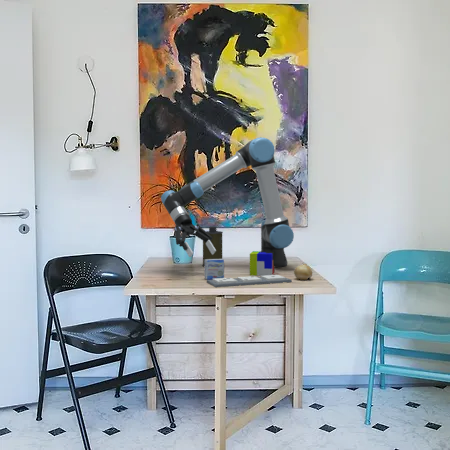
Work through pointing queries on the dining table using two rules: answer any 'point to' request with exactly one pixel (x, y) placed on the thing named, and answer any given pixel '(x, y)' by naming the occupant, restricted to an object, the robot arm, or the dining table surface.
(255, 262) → the puzzle toy
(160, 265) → the dining table surface
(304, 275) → the onion
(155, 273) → the dining table surface
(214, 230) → the canister
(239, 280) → the digit board
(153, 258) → the dining table surface
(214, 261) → the medicine box
